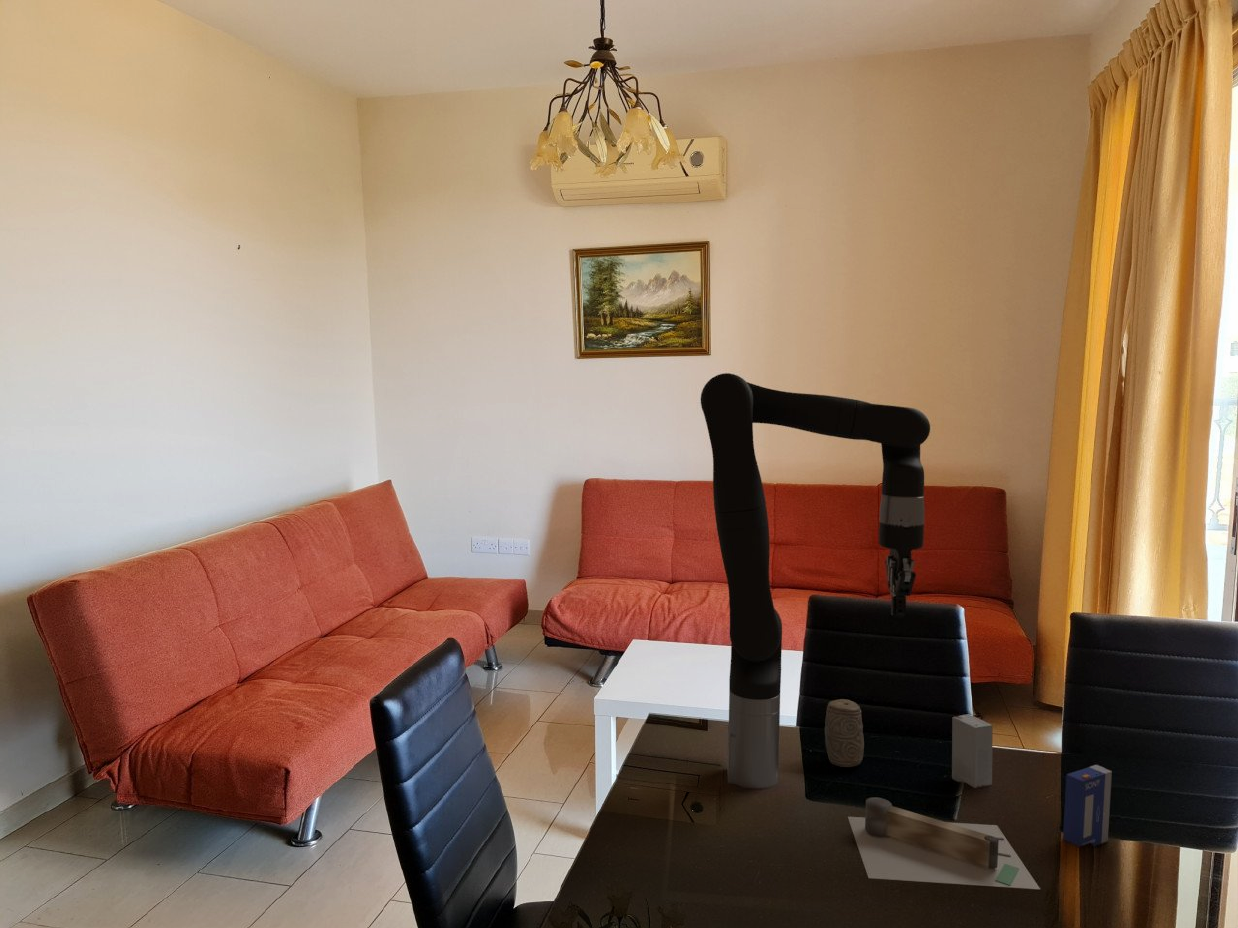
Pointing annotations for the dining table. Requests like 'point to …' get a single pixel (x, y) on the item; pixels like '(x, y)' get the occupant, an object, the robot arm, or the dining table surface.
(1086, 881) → the dining table surface
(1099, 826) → the walkman
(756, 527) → the robot arm
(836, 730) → the carving
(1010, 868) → the dial plate
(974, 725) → the skincare box
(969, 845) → the pointer lever
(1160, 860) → the dining table surface
